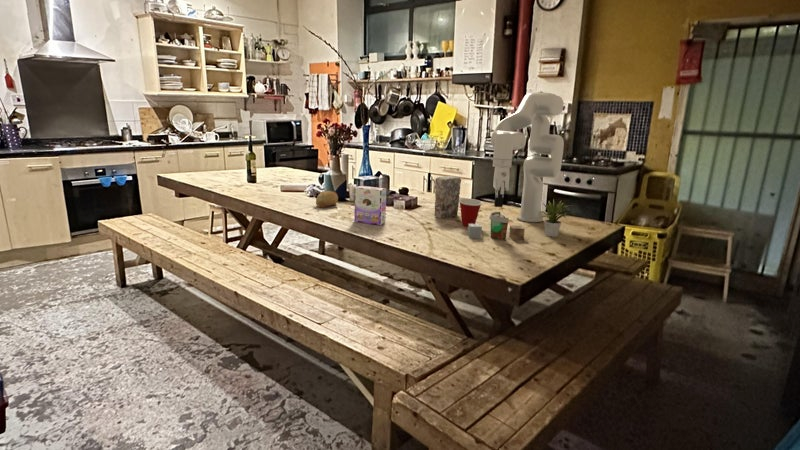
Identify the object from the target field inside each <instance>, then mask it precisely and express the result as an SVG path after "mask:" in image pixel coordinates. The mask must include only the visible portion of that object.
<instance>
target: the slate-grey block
mask: <svg viewBox="0 0 800 450" xmlns="http://www.w3.org/2000/svg"><path fill="white" fill-rule="evenodd" d="M482 229H483V226H482V225H481V224H480V223H475V224H468V227H467V237H468V238H469V239H482Z"/></svg>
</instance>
